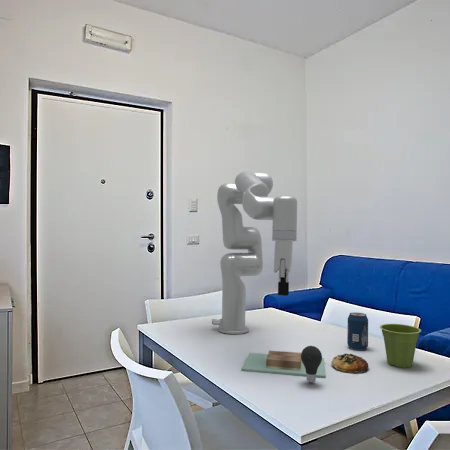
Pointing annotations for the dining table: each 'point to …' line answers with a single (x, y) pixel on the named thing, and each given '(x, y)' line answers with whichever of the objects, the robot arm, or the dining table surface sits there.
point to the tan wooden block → (284, 360)
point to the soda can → (357, 331)
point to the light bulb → (311, 362)
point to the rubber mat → (258, 364)
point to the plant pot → (400, 343)
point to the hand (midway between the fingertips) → (283, 294)
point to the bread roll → (349, 363)
